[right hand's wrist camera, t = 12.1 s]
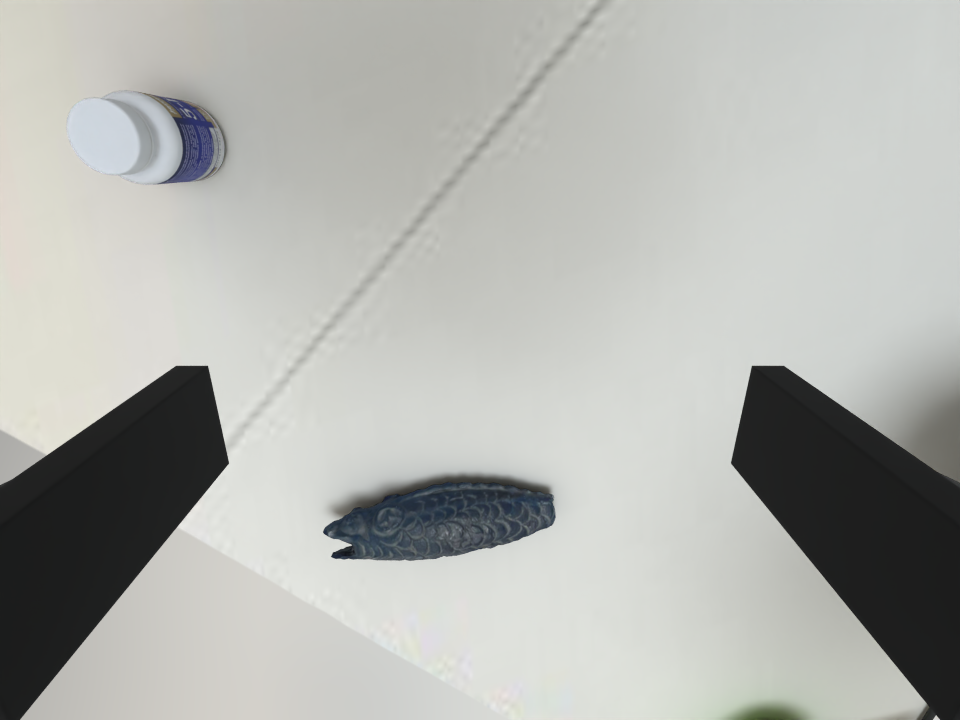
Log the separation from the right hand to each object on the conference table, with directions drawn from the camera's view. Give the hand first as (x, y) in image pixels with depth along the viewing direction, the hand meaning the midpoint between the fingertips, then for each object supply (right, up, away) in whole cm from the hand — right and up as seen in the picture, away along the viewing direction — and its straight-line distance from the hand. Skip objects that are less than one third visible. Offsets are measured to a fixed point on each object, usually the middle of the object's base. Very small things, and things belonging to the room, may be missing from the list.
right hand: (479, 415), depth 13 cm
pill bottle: (-21, +17, +24) cm, 36 cm away
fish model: (-3, -13, +36) cm, 38 cm away
